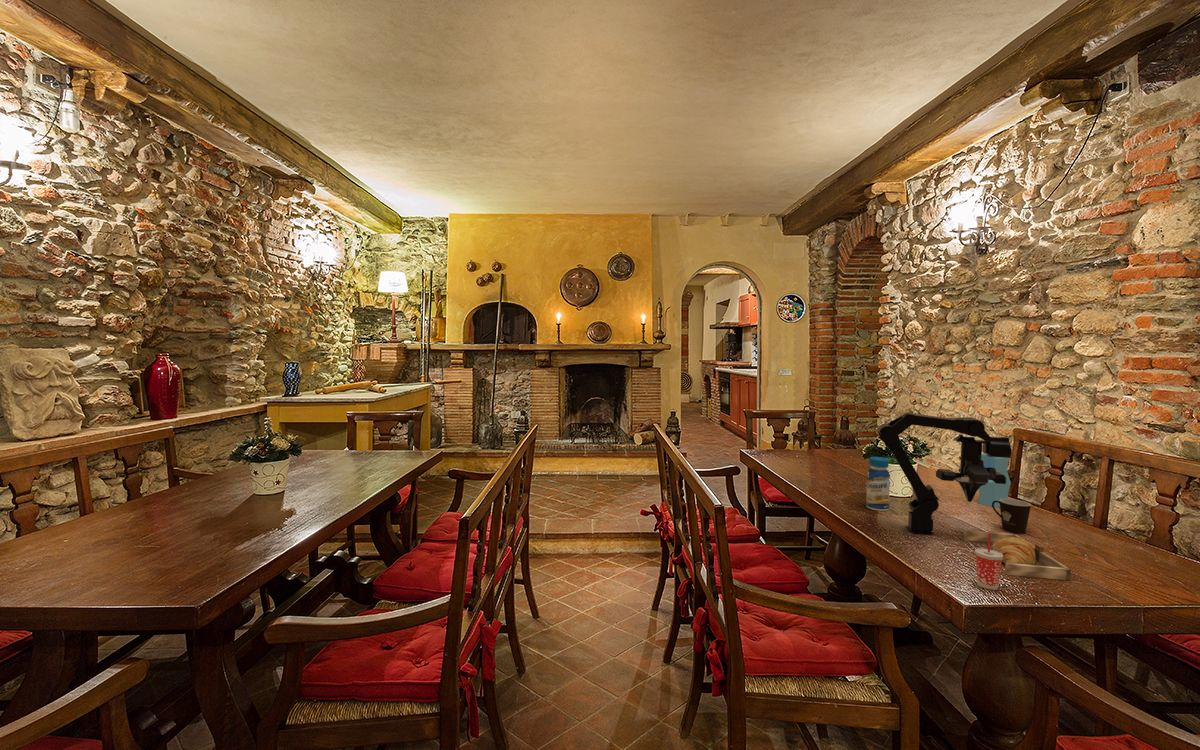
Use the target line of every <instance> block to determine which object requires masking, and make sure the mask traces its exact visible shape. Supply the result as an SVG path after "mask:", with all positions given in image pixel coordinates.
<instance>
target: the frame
mask: <svg viewBox="0 0 1200 750" xmlns="http://www.w3.org/2000/svg"><path fill="white" fill-rule="evenodd" d="M988 534H991V539H990V543H993V544H994V543H995V542H996V541H997V540H999V539H1002V538H1005V537H1019V538H1022V539H1023V540H1025V541H1027V540H1026V539H1024V538H1023V537H1021V536H1020V535H1019V534H1015V533H1007V532H1006V533H1005V532H1003V533H1002V532H991V531H978V530H963V540H964V541H967V542H968V541H969V542H980V543H981V542H984V543H988ZM1027 542H1028V543H1030V542H1029V541H1027ZM1030 544H1031V545H1032V547H1033V548H1034V551H1035V561H1038V562H1039V563H1040V564H1042V565H1035V564H1034V565H1025V564H1013V563H1004V565H1005V566H1004V567H1005V568H1004V569H1005V570H1004V573H1005V575H1006V576H1007V575H1008V576H1017V577H1018V576H1019V577H1029V578H1037V579H1038V578H1039V579H1051V580H1060V581H1061V580H1062V581H1071V577H1072V574H1071V573H1072V570H1071V568H1069V567H1068V566H1066V565H1064V564H1063V563H1061V562H1059V561H1058V560H1056V559H1055V558H1053V557H1052V556H1051V555H1049V554H1047V553H1046V552H1045V551H1044V549H1045V548H1044V546H1042V545H1041V544H1037V543H1036V544H1032V543H1030Z"/></svg>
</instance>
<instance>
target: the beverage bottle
mask: <svg viewBox="0 0 1200 750" xmlns="http://www.w3.org/2000/svg"><path fill="white" fill-rule="evenodd" d="M889 463H890V462H889V458H887V457H882V456H871V457H869V459H868V465H869V468H868V470H867V472H866V476H867V478H866V480H865V482H866V498H865V499H866V501H865V506H866V508H868V509H870V510H873V511H878V512H884V511H889V509H890V487H891V481H890V478H891V474H890V471H889V470H888V468H889Z"/></svg>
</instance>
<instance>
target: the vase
mask: <svg viewBox="0 0 1200 750" xmlns="http://www.w3.org/2000/svg"><path fill="white" fill-rule="evenodd" d="M982 460H983V463H984V468H988V467H991V468H995V469H996V472H999V473H1001V474H1003V475H1005V477H1006V484H996V483H995V482H994V481H993V480H989V481H988V483H986V485H982V486H981V487H979V489H978V500H977V503H978V504H981V505H984V506H987V507H989V508H992V502H993V501H999V500H1000V499H1009V490H1010V487H1011V486H1012V484H1011V483H1012V482H1011V480H1010V477H1009V473H1008V465H1009V461H1010V458H1000V457H988V456H987V454H986V453H982ZM994 508H995V509H997V508H999V509H1000V504H999V503H998V502H995V503H994Z"/></svg>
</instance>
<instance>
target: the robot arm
mask: <svg viewBox="0 0 1200 750" xmlns="http://www.w3.org/2000/svg"><path fill="white" fill-rule="evenodd" d="M911 426H918V427H919V426H920V427H924V428H925V427H927V428H932V429H933V428H935V429H941V430H942V429H943V430H949V431H954V432H956V433H959V435H957V436H956V437H954V439H953V440H954V441H956V442H958V443H960V456H959V457H958V459H959V460H960V464H959V465H960V466H959V468H958V472H955V471H952V469H949V468H947V469H946V468H944V469H943V468H938V469H937V470H936V472H935V477H936V478H938V480H939V479H940V480H941V481H943V482H944V481H945V482H946V481H947V482H954V481H956V482H957V483H959V485H960V487H961V489H962V492H963V494H964V496H965V499H966V501H967V502H968V503H972V502H973V499H974V497H975V495H976V493H977V491H979V487H981V486H982V485H986V483H988V481H989V480H993V481H994V482H995V483H996V484H1006V477H1005V475H1003V474H1001V473H999V472H996V469H995V468H991V467H988V468H984V463H983V460H982V454H987V456H988V457H1000V458H1009V459H1010V458H1011V456H1012V447H1011V446H1012V445H1011V443H1010V437H1008V436H990V434H988V433H987V431H986V427H985V423H983V422H982V421H981V420H979V419H977V418H975V417H970V416H968V417H967V416H964V417H942V416H935V415H934V416H933V415H927V414H926V415H925V414H919V413H912V412H910V411H909V412H908V411H907V412H905V413H903V414H902V415H900V416H899V417H897V418H895V419H893V420H891V421H889V422H888V423H883V424H881V425H879V426H878V428H877V429H876V434H877V436H878V438H879V439H880V440H881V441H882V442H883V443H884V445H885V446H886V447H887V448H888V449H889V451H891V454H892V455H893V457H894V458H895V459H896V462H897V464H898V466H899V467H900V469H901V471H902V473H903V474H904V476H905V478H906V479H907V481H908V483H909V484H910V486H911V489H912V493H913V495H914V499H913V500H912V501H910V502H908V506H909V509H910V511H909V510H908V517H907V518H908V520H907V521H908V523H907V525H906V528H907V529H908V530H909V532H911V534H919V535H920V534H923V535H934V532H933V531H934V519H933V518H932V517H933V516H932V515H933V513H934V512H937V510H938V509H939V506H940V503H939V500H940V497H938V496H937V495H936V493H935V491H934V489H933V487H932V486H931V484H928V485H926V484H924V482H923V481H922V479H921V477H920V476H919V474H918V471H917V470H916V469H915V467H914V465H913V464H912V461H910V459H909V457H908V455H907V454H906V451H905V450H904V448H903V446H902V442H901V440H900V439H901V438H900V436H899V435H901V434H902V433H904V432H905V431H906V430H907V429H908V428H910V427H911ZM964 435H967V436H964ZM976 437H977V438H979V439H980V440H979V439H976Z"/></svg>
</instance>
